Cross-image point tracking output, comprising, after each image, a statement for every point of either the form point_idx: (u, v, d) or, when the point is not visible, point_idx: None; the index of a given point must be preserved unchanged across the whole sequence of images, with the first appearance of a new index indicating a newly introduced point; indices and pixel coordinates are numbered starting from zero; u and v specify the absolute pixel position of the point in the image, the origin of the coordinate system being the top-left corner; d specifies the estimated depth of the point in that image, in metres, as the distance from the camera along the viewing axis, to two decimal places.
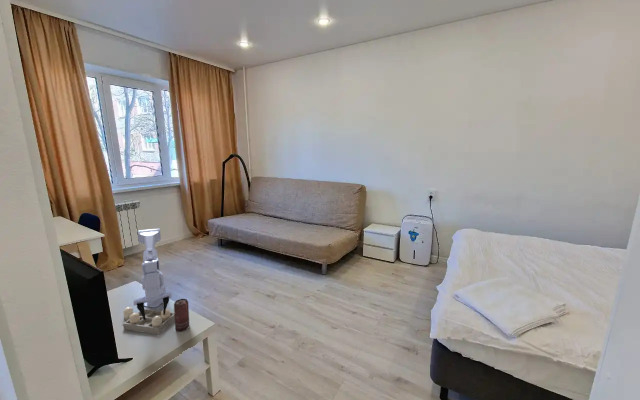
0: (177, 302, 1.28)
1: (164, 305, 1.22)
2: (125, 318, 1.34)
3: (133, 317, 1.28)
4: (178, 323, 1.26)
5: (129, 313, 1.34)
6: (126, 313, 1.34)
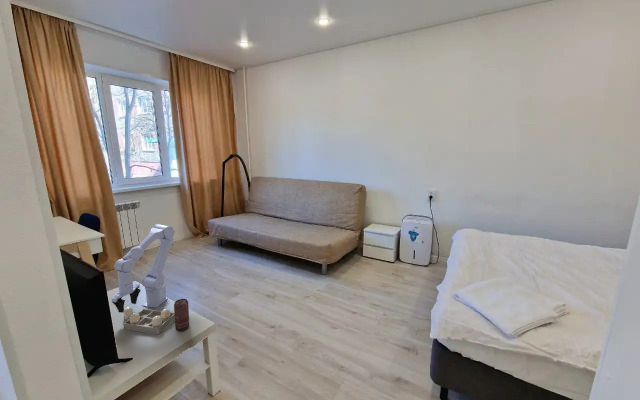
0: (177, 302, 1.28)
1: None
2: (125, 318, 1.34)
3: (133, 317, 1.28)
4: (178, 323, 1.26)
5: (129, 313, 1.34)
6: (126, 313, 1.34)
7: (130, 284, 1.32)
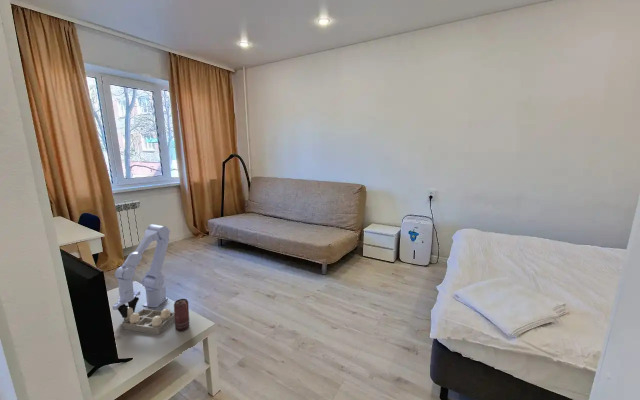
0: (177, 302, 1.28)
1: None
2: (125, 318, 1.34)
3: (133, 317, 1.28)
4: (178, 323, 1.26)
5: (129, 313, 1.34)
6: None
7: (131, 291, 1.33)
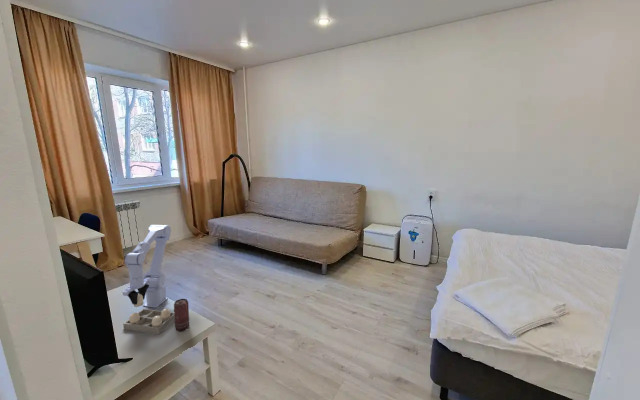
0: (177, 302, 1.28)
1: None
2: (135, 305, 1.32)
3: (133, 317, 1.28)
4: (178, 323, 1.26)
5: (139, 300, 1.32)
6: None
7: (141, 278, 1.31)
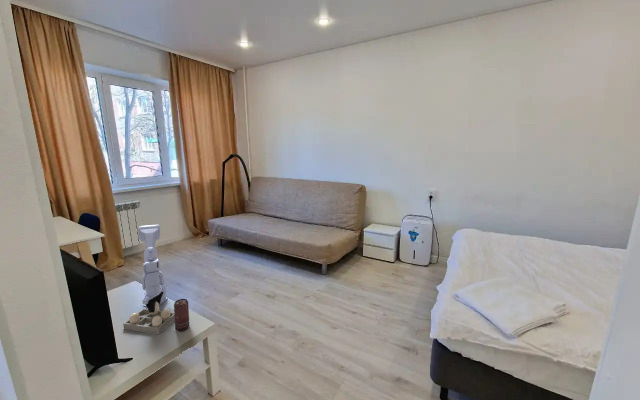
0: (177, 302, 1.28)
1: None
2: (152, 313, 1.32)
3: (133, 317, 1.28)
4: (178, 323, 1.26)
5: (156, 307, 1.33)
6: None
7: (158, 285, 1.32)
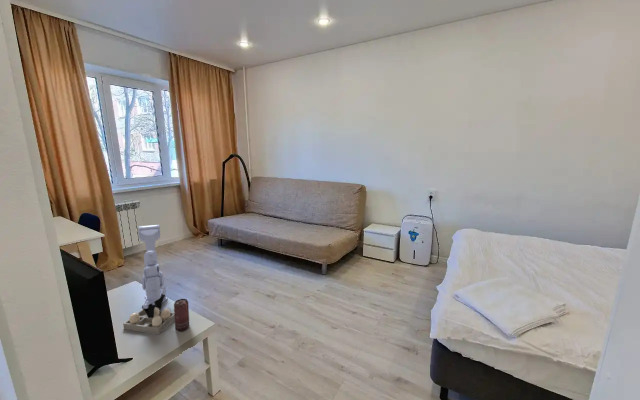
0: (177, 302, 1.28)
1: None
2: None
3: (133, 317, 1.28)
4: (178, 323, 1.26)
5: (156, 313, 1.33)
6: (154, 313, 1.33)
7: (158, 289, 1.32)
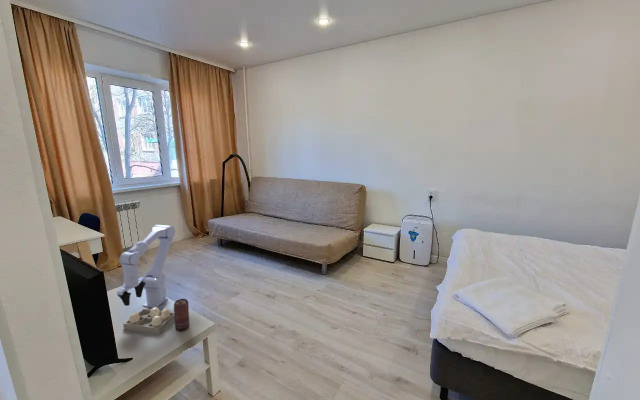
0: (177, 302, 1.28)
1: None
2: None
3: (133, 317, 1.28)
4: (178, 323, 1.26)
5: (156, 313, 1.33)
6: (154, 313, 1.33)
7: (135, 277, 1.31)
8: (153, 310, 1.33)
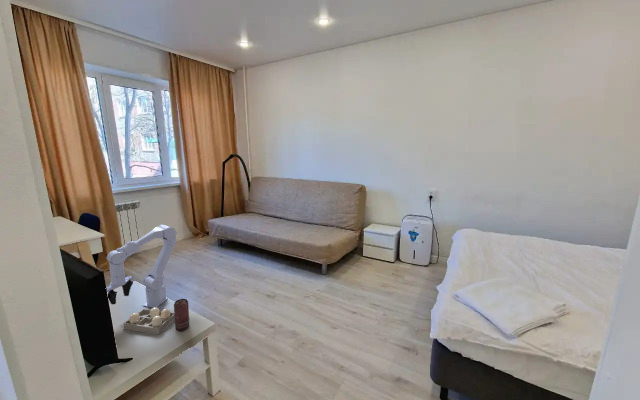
0: (177, 302, 1.28)
1: None
2: None
3: (133, 317, 1.28)
4: (178, 323, 1.26)
5: (156, 313, 1.33)
6: (154, 313, 1.33)
7: (122, 276, 1.32)
8: (153, 310, 1.33)
